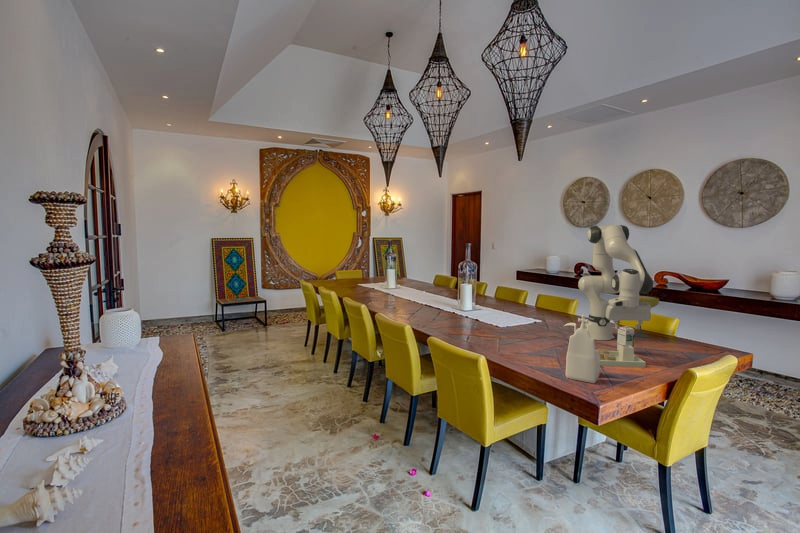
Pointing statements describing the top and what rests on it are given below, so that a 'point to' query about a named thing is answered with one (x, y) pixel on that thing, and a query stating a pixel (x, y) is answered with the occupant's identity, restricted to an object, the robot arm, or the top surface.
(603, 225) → the robot arm
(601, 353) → the maple block
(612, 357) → the maple block
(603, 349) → the maple block
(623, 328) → the syrup box
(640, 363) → the tray
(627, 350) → the cream hollow square tube
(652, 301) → the cocktail glass
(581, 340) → the cream tall nozzled container
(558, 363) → the top surface
